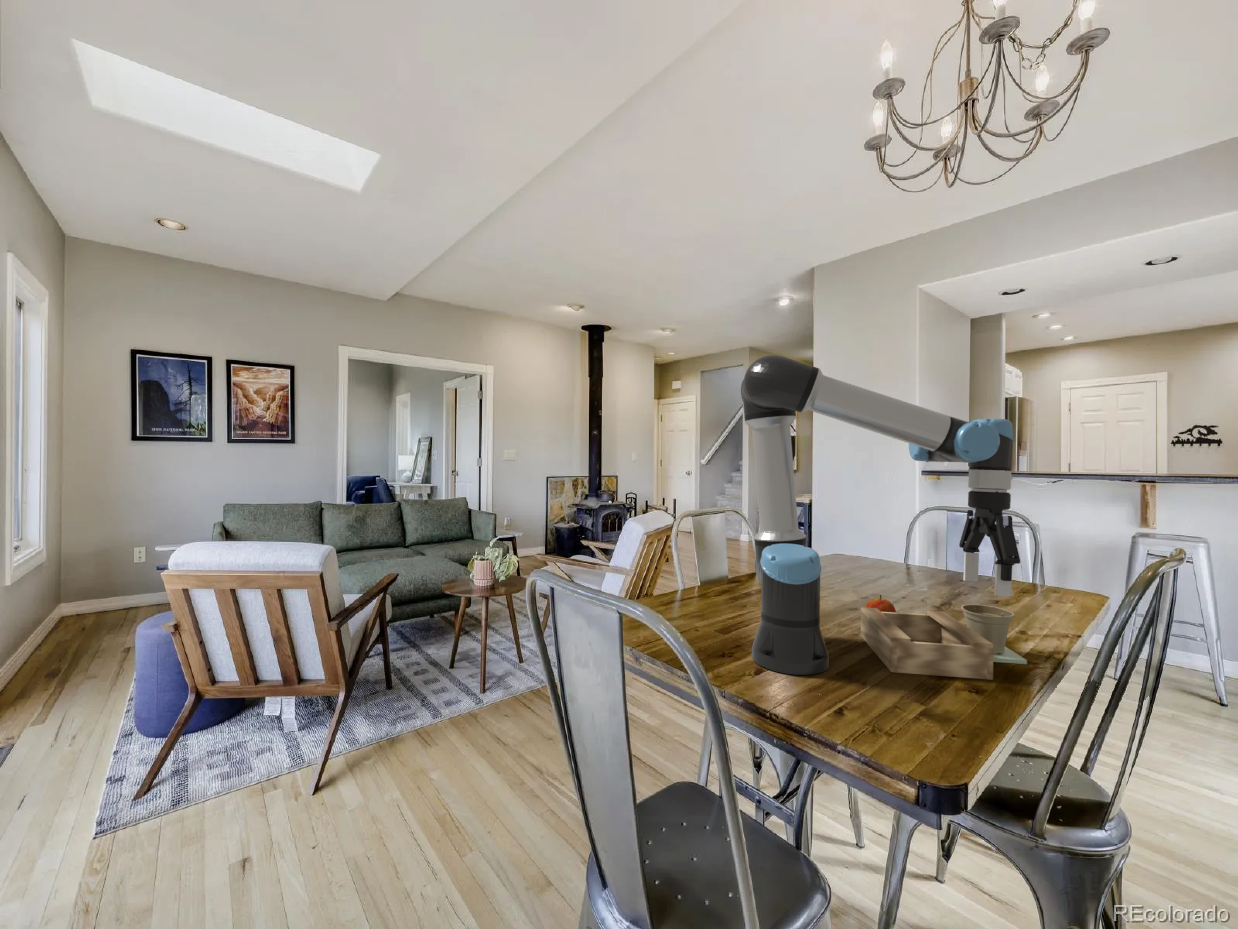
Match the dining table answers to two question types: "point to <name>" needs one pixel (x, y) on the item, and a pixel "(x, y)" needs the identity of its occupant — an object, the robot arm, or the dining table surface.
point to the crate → (927, 644)
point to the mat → (1009, 657)
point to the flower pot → (989, 623)
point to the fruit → (881, 605)
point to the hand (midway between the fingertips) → (985, 588)
